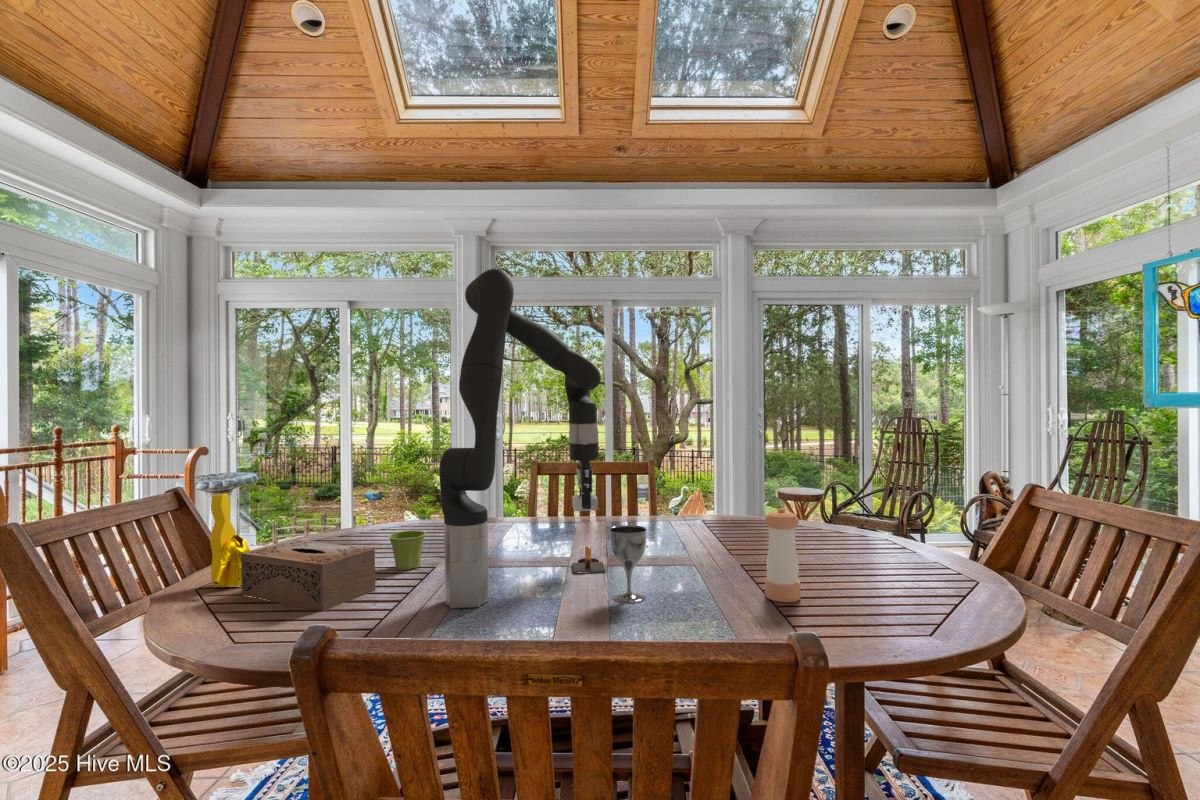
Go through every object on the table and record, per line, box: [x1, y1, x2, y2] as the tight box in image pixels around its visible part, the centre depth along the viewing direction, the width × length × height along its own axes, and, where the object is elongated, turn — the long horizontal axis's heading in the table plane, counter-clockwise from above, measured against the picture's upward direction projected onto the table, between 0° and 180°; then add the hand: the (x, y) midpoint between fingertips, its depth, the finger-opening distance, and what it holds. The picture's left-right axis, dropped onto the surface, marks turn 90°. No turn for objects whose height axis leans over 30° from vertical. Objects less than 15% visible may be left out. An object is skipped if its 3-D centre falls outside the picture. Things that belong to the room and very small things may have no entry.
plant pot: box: [387, 530, 427, 571], centre depth 158 cm, size 9×9×9 cm
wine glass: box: [609, 524, 647, 605], centre depth 131 cm, size 8×8×15 cm
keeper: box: [571, 545, 607, 574], centre depth 154 cm, size 8×8×6 cm
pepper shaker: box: [764, 507, 802, 603], centre depth 130 cm, size 7×7×19 cm
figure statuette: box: [209, 493, 252, 588], centre depth 145 cm, size 18×8×22 cm, turn 1°
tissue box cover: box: [241, 539, 376, 612], centre depth 138 cm, size 26×14×10 cm, turn 65°
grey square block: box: [572, 493, 599, 512], centre depth 154 cm, size 6×6×3 cm
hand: (585, 506), depth 154 cm, fingers closed on grey square block, 6 cm apart
